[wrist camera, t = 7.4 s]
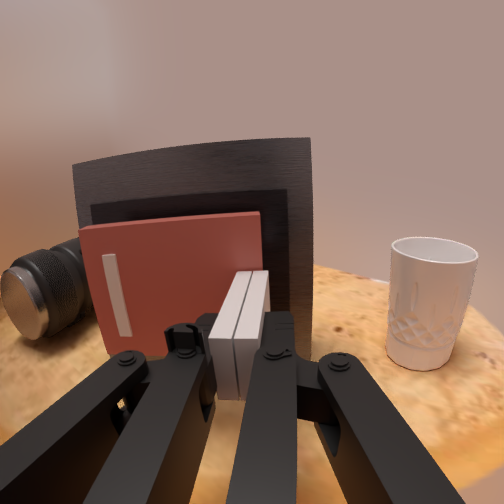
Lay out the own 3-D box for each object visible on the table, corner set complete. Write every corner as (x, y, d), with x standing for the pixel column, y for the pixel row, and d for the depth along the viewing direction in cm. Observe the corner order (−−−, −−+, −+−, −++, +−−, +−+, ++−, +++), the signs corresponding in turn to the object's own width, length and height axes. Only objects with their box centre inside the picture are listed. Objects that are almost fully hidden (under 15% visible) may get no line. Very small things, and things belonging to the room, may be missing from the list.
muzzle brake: (172, 271, 51) (165, 212, 48) (58, 361, 25) (28, 266, 22) (128, 269, 53) (120, 214, 50) (14, 342, 27) (-11, 262, 24)
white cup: (395, 383, 21) (418, 265, 18) (368, 334, 28) (378, 237, 26) (468, 365, 20) (496, 259, 18) (433, 325, 28) (447, 235, 25)
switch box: (116, 382, 23) (69, 164, 18) (149, 335, 30) (122, 162, 26) (308, 393, 21) (310, 137, 16) (301, 337, 29) (299, 146, 24)
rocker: (106, 355, 17) (76, 230, 15) (113, 344, 18) (87, 225, 16) (266, 354, 17) (260, 215, 15) (264, 341, 18) (258, 211, 16)
